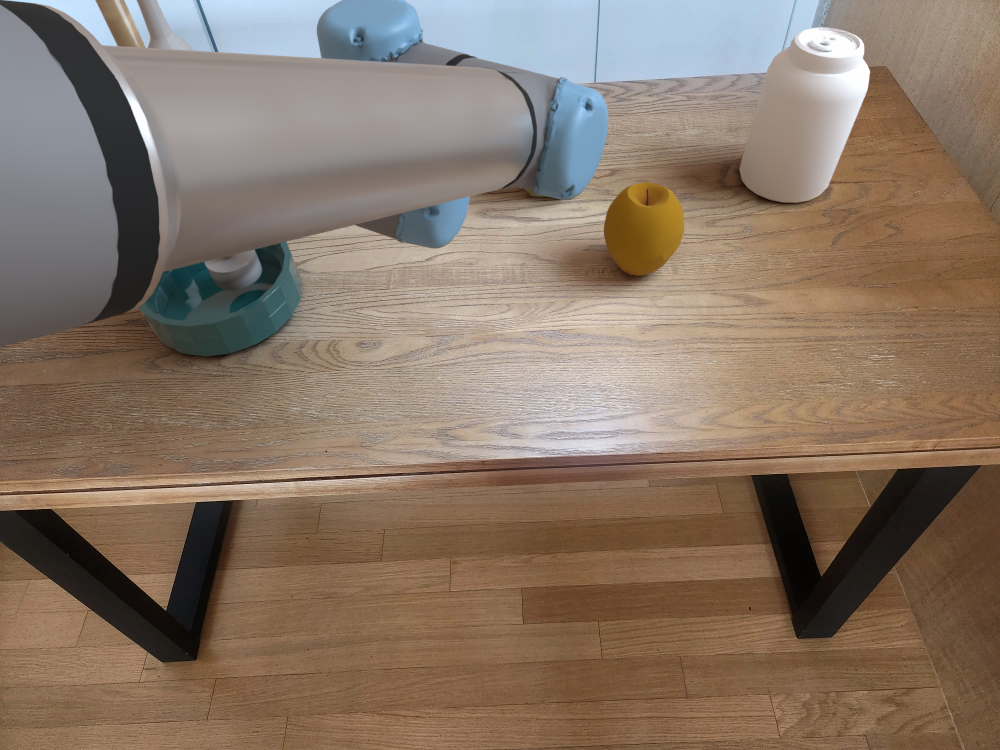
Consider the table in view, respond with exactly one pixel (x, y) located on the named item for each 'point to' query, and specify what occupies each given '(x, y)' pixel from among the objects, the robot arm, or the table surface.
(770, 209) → the table surface
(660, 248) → the apple
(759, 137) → the can
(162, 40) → the bottle
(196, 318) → the bowl
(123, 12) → the wooden rounded dowel
